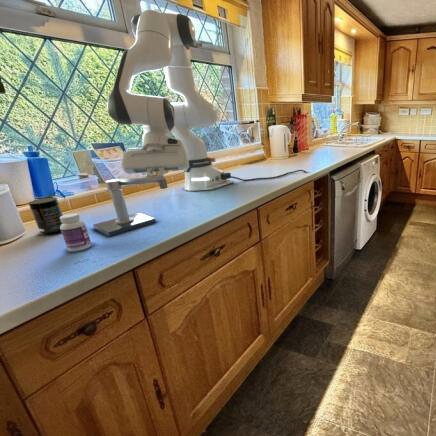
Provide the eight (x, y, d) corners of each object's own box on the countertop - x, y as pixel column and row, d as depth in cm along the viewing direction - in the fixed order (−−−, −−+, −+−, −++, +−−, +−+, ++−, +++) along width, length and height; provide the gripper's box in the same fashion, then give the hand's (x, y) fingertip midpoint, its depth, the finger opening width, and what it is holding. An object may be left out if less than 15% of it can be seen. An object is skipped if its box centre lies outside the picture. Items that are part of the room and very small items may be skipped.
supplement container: (73, 228, 100) (62, 197, 96) (51, 236, 93) (39, 204, 90) (57, 227, 101) (46, 197, 97) (35, 235, 95) (22, 203, 91)
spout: (106, 194, 94) (102, 181, 93) (111, 191, 98) (108, 179, 96) (166, 189, 98) (163, 177, 97) (168, 186, 102) (166, 174, 100)
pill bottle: (94, 247, 85) (83, 214, 81) (70, 253, 81) (58, 220, 78) (89, 242, 88) (79, 211, 85) (66, 248, 84) (54, 216, 81)
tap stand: (139, 216, 109) (130, 183, 105) (155, 222, 102) (147, 187, 98) (94, 228, 98) (82, 192, 94) (109, 236, 92) (97, 198, 87)
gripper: (119, 143, 100) (116, 178, 95) (185, 139, 105) (185, 173, 99) (127, 154, 106) (125, 188, 100) (190, 151, 110) (190, 183, 105)
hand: (155, 180), depth 100 cm, fingers closed, pressing on spout
